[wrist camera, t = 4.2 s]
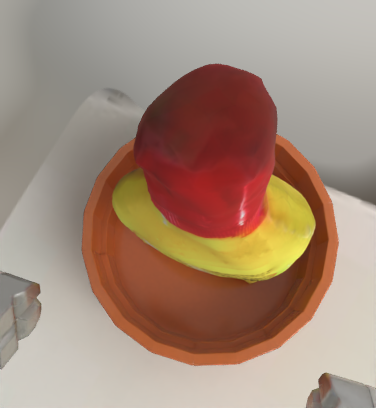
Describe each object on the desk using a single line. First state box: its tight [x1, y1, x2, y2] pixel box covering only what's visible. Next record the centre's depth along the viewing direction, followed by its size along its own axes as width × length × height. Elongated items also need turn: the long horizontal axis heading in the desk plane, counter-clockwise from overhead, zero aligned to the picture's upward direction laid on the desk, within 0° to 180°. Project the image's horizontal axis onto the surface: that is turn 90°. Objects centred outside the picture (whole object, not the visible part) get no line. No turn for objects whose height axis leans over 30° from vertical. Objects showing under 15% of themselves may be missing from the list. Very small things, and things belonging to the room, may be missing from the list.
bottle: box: [112, 64, 316, 284], centre depth 18 cm, size 12×6×20 cm, turn 74°
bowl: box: [82, 134, 339, 366], centre depth 26 cm, size 17×17×6 cm
